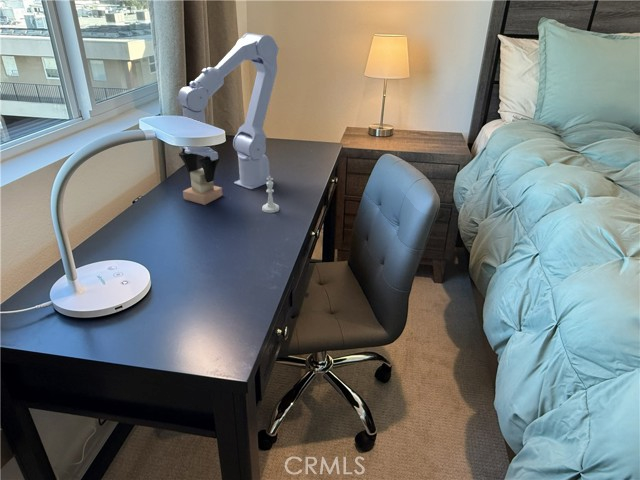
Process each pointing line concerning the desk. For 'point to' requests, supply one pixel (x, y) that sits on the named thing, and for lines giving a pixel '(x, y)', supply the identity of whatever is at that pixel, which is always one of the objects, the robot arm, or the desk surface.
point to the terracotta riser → (202, 195)
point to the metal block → (200, 181)
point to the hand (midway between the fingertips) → (201, 178)
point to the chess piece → (270, 199)
